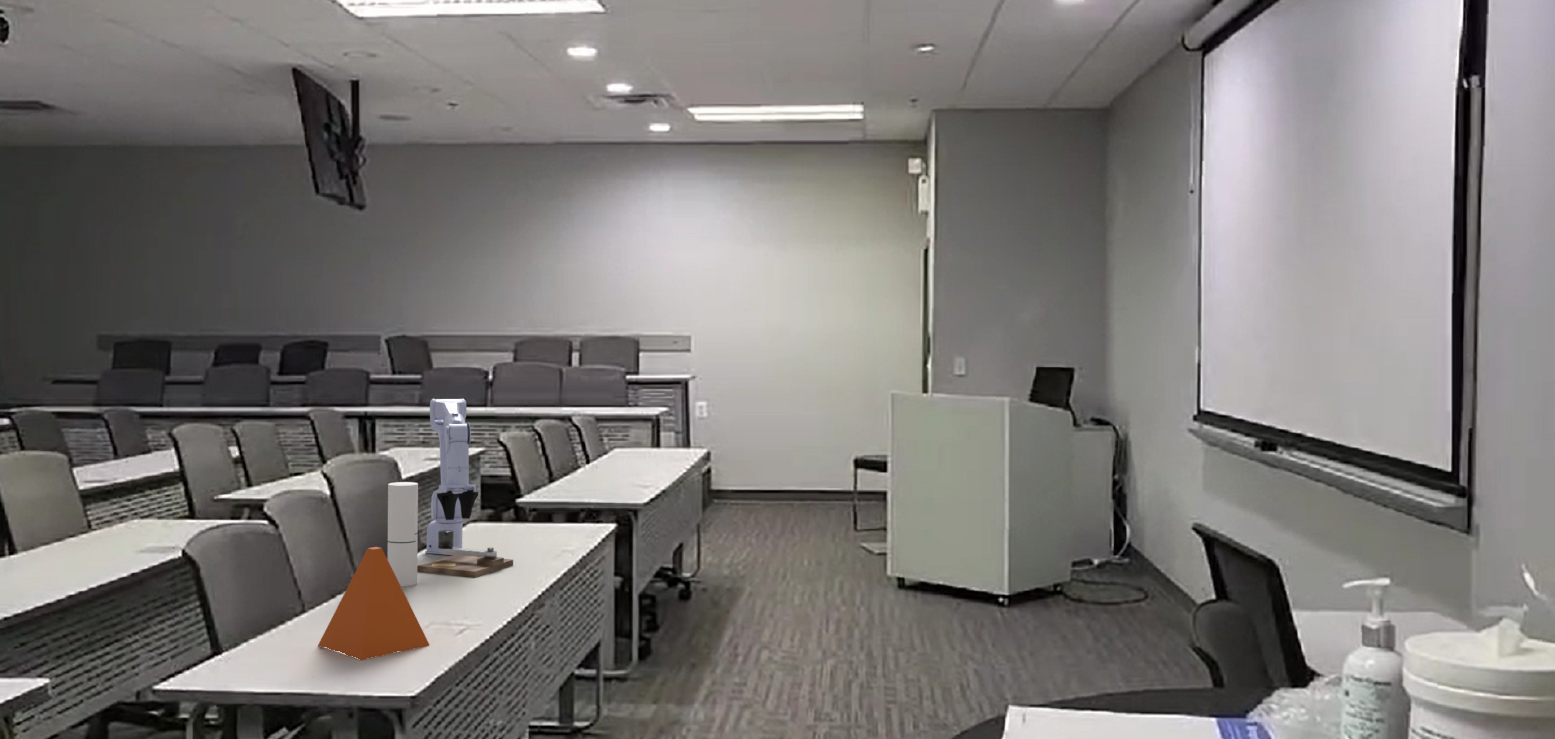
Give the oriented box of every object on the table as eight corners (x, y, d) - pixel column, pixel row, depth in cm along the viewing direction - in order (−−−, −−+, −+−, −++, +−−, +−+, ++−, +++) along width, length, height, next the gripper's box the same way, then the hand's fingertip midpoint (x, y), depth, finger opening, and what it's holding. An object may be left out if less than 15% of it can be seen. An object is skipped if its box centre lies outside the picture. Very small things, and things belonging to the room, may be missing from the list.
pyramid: (385, 632, 263) (386, 538, 262) (430, 646, 253) (431, 548, 252) (317, 646, 251) (317, 548, 250) (361, 661, 241) (361, 558, 240)
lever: (499, 556, 332) (500, 534, 332) (491, 558, 328) (491, 536, 328) (443, 551, 338) (444, 529, 338) (434, 553, 334) (435, 531, 334)
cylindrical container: (421, 581, 315) (422, 482, 314) (410, 586, 308) (411, 486, 307) (394, 580, 315) (395, 481, 315) (382, 585, 308) (383, 485, 307)
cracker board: (416, 571, 327) (416, 560, 327) (456, 559, 344) (456, 548, 344) (476, 577, 320) (477, 565, 320) (514, 565, 337) (514, 554, 337)
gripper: (454, 468, 327) (455, 520, 326) (485, 467, 340) (485, 517, 339) (432, 468, 329) (432, 520, 328) (463, 468, 343) (463, 518, 342)
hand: (458, 519), depth 334 cm, fingers open, 7 cm apart
